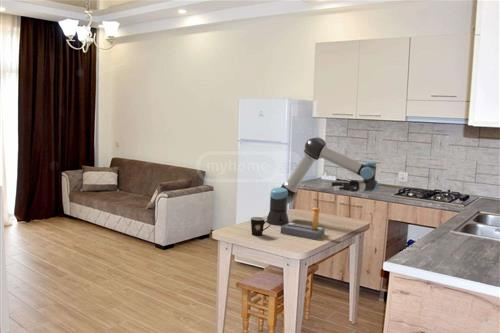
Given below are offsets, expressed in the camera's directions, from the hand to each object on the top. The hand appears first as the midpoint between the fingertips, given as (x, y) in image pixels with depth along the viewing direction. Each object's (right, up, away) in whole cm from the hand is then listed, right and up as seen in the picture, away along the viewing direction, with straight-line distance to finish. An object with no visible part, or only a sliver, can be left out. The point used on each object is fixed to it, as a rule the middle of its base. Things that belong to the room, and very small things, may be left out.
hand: (328, 186), depth 281 cm
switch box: (-17, -30, -2) cm, 34 cm away
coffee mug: (-44, -29, -9) cm, 54 cm away
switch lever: (-10, -30, -6) cm, 33 cm away
